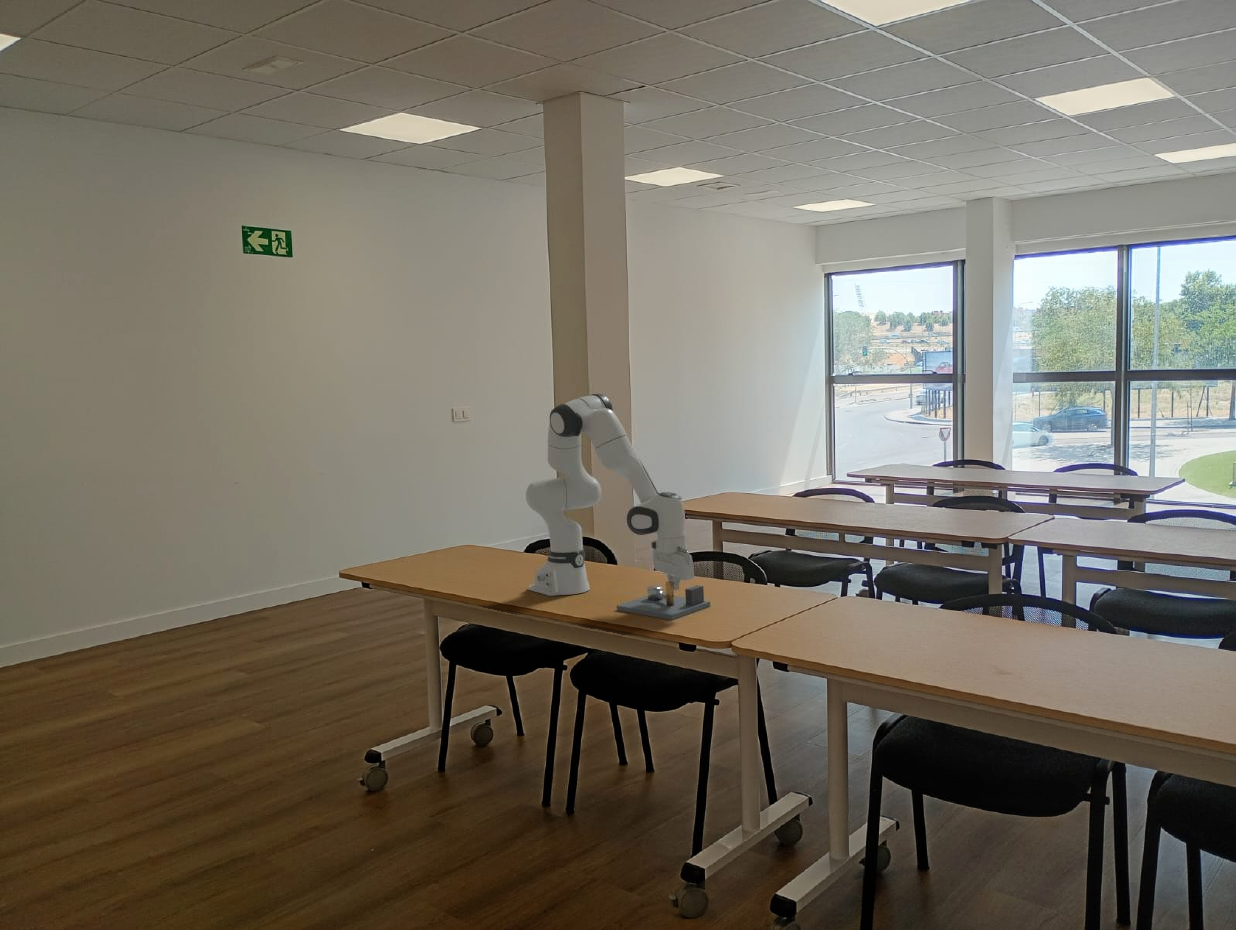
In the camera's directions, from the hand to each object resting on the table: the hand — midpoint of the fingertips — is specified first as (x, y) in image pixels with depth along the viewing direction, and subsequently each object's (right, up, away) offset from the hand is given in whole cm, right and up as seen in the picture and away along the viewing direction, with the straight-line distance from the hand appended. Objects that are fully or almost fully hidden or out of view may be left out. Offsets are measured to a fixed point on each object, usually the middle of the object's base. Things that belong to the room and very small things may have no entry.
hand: (674, 589), depth 294 cm
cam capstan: (-4, -4, +4) cm, 7 cm away
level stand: (-3, -6, +2) cm, 7 cm away
